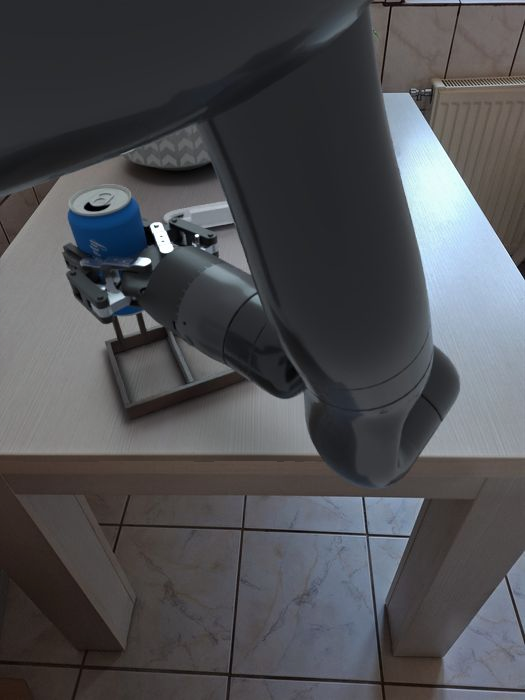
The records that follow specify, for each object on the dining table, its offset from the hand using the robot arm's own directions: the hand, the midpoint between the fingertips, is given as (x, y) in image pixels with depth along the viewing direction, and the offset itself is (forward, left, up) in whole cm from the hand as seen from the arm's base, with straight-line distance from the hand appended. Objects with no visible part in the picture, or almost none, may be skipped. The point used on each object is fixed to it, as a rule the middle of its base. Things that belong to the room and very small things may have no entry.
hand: (99, 237), depth 50 cm
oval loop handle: (+22, +29, -19) cm, 41 cm away
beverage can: (+1, -2, -7) cm, 8 cm away
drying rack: (+5, -2, -18) cm, 19 cm away
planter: (+23, +55, -19) cm, 62 cm away
